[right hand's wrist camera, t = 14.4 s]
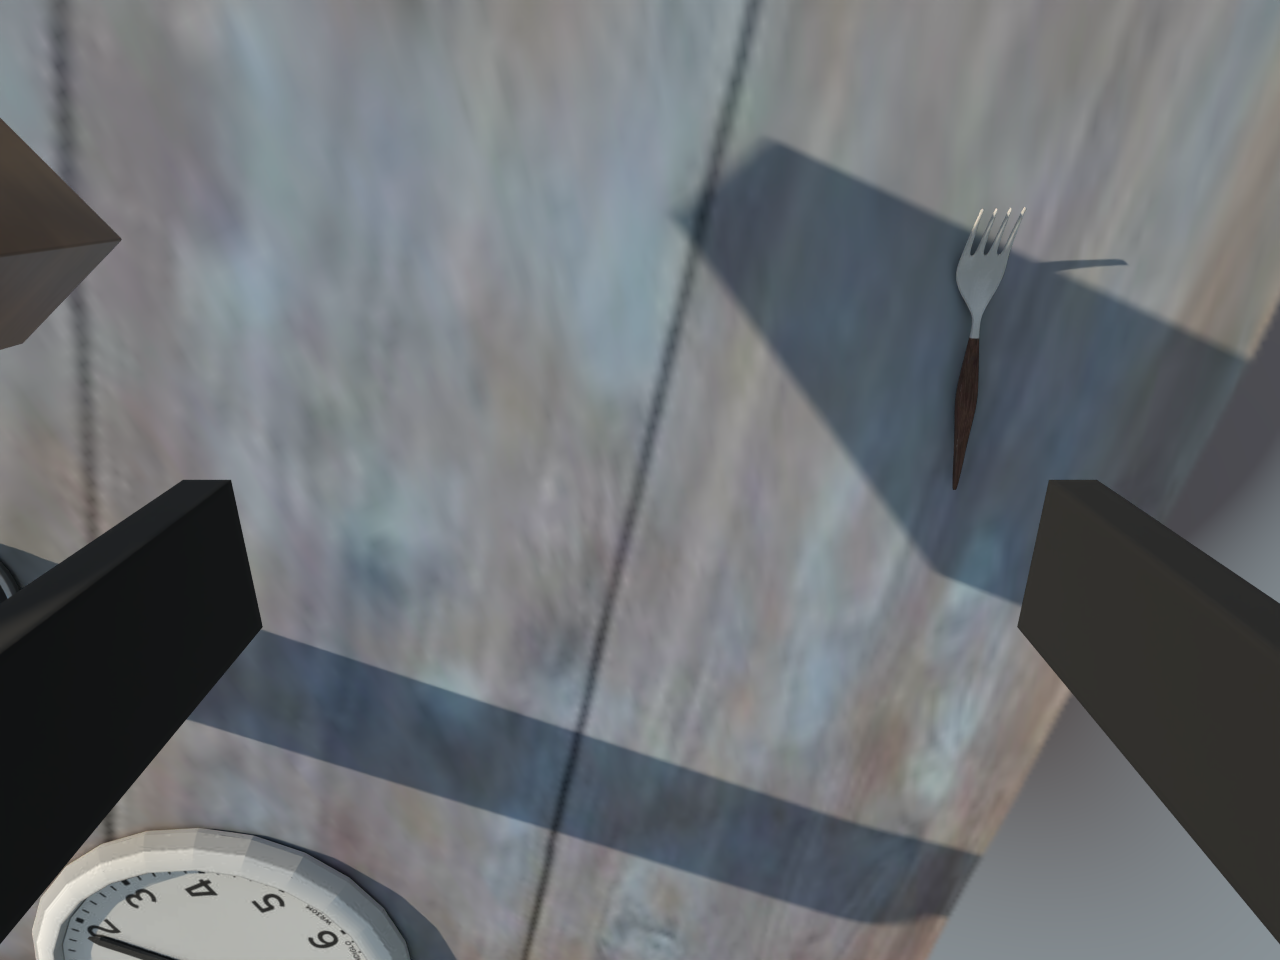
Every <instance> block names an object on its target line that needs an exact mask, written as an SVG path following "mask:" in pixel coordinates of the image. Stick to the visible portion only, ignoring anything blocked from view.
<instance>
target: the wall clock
mask: <svg viewBox="0 0 1280 960" xmlns="http://www.w3.org/2000/svg"><path fill="white" fill-rule="evenodd" d="M32 934H33V941H34V948H35V954H36V960H411V959H410V956H409V952H408V948H407V944H406V941H405V940H404V938H403V937H402V935H401V934H400V932H399V931H398V929H397V928H396V926H395V925H394V923H393V922H392V920H391V919H390V917H389V915H388V914H387V912H386V911H385V909H384V908H383V907H382V906H381V905H379V904H378V903H377V902H376V901H375V900H374V899H373V898H372V897H371V896H369V895H368V894H367V893H366V892H365V891H364V890H363V889H362V888H360V887H359V886H358V885H357V884H356V883H355V882H354V881H353V880H352V879H350V878H349V877H347V876H346V875H344V874H342V873H340V872H338V871H337V870H335V869H333V868H331V867H330V866H328V865H326V864H324V863H323V862H321V861H319V860H317V859H315V858H314V857H312V856H310V855H308V854H307V853H305V852H302V851H299V850H296V849H293V848H290V847H287V846H284V845H281V844H278V843H275V842H272V841H269V840H266V839H263V838H260V837H257V836H254V835H246V834H239V833H232V832H225V831H218V830H211V829H203V828H190V829H172V830H155V831H145V832H142V833H138V834H135V835H131V836H128V837H124V838H121V839H118V840H114V841H111V842H107V843H104V844H101V845H99V846H98V847H96V848H95V849H93V850H91V851H90V852H88V853H87V854H85V855H83V856H82V857H80V858H78V859H77V860H75V861H74V862H72V863H70V864H69V865H67V866H66V867H65V868H64V870H63V871H62V872H61V873H60V875H59V876H58V877H57V879H56V880H55V881H54V882H53V884H52V885H51V886H50V887H49V889H48V890H47V891H46V892H45V894H44V895H43V896H42V897H41V899H40V903H39V907H38V910H37V914H36V918H35V922H34V926H33V929H32Z"/></svg>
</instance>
